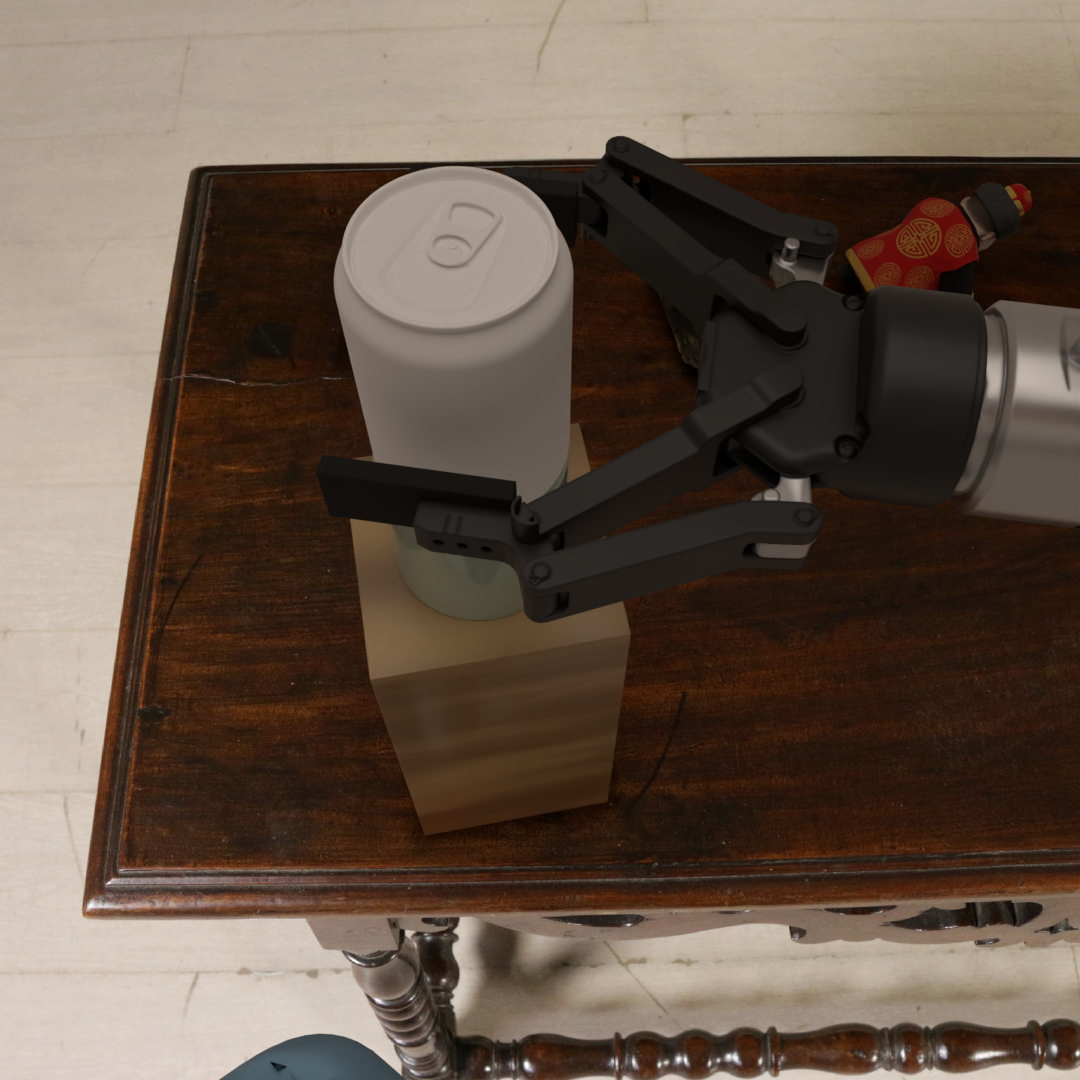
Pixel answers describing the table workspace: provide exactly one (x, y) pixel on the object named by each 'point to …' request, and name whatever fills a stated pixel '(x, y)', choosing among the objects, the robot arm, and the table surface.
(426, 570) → the mug
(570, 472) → the plinth
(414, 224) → the beverage can
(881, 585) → the table surface
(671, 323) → the seashell
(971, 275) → the figurine
